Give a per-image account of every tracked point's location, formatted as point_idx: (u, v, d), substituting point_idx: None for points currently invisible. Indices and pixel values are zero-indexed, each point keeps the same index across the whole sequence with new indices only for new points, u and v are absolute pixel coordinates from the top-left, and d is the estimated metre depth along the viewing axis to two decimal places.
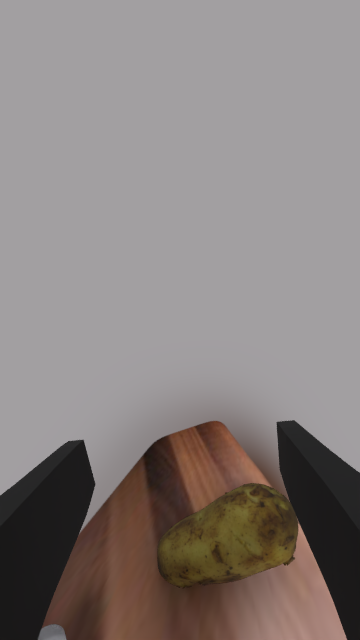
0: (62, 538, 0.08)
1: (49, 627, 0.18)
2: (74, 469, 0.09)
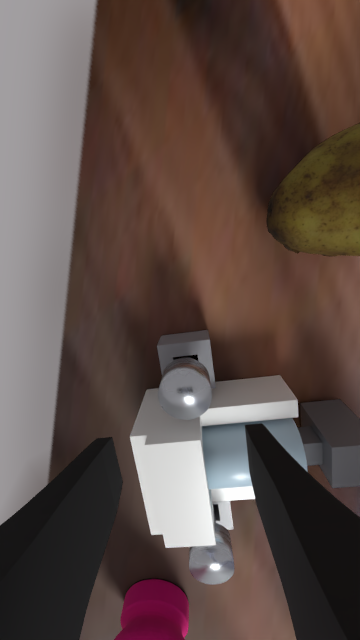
0: (97, 536, 0.08)
1: (176, 374, 0.13)
2: (105, 466, 0.09)
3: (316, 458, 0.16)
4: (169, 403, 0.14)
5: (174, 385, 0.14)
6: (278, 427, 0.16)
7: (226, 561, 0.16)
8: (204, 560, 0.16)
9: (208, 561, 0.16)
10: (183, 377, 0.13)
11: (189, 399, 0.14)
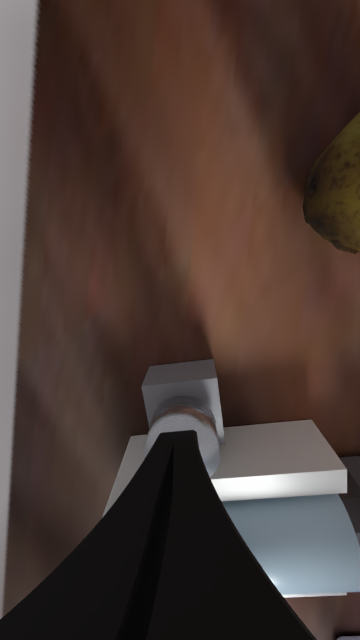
0: None
1: (170, 426, 0.09)
2: None
3: None
4: None
5: None
6: (317, 507, 0.11)
7: None
8: None
9: None
10: (179, 430, 0.09)
11: None
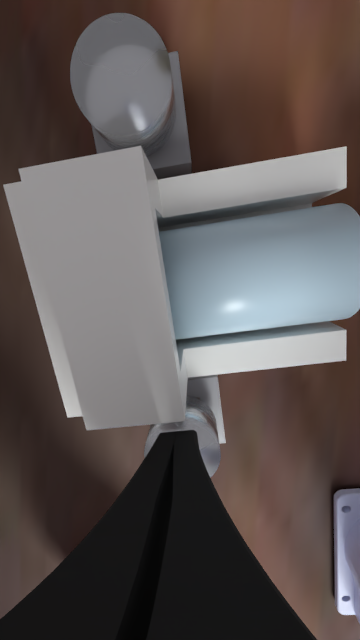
0: None
1: (102, 23, 0.07)
2: None
3: None
4: (92, 97, 0.07)
5: (99, 51, 0.07)
6: (307, 209, 0.09)
7: (206, 442, 0.09)
8: None
9: None
10: (115, 29, 0.07)
11: (129, 84, 0.07)
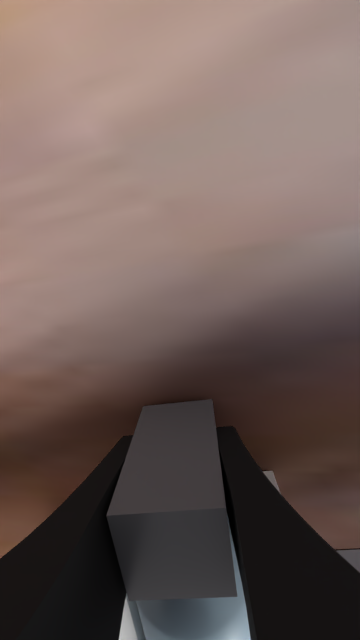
0: None
1: None
2: None
3: None
4: None
5: None
6: None
7: None
8: None
9: None
10: None
11: None
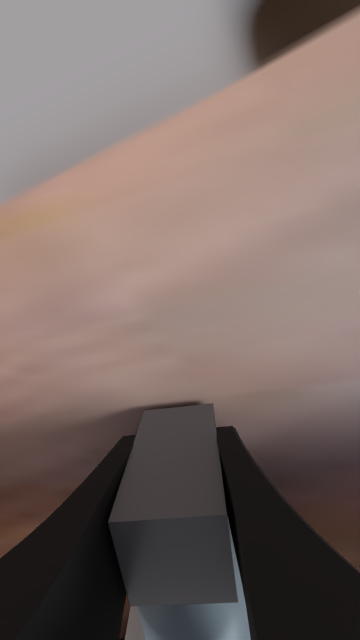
0: None
1: None
2: None
3: None
4: None
5: None
6: None
7: None
8: None
9: None
10: None
11: None
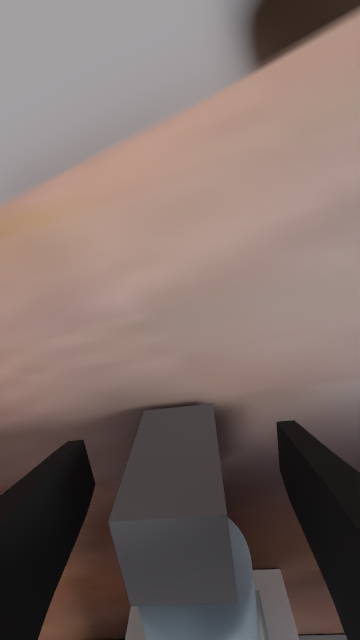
0: (62, 538, 0.08)
1: None
2: (74, 469, 0.09)
3: None
4: None
5: None
6: None
7: None
8: None
9: None
10: None
11: None
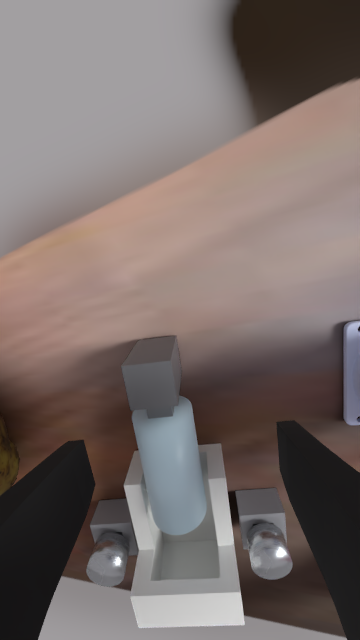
0: (62, 538, 0.08)
1: (89, 575, 0.19)
2: (74, 469, 0.09)
3: None
4: (112, 580, 0.19)
5: (97, 577, 0.19)
6: None
7: (263, 554, 0.18)
8: (262, 569, 0.18)
9: (263, 566, 0.18)
10: (91, 572, 0.19)
11: (107, 570, 0.19)
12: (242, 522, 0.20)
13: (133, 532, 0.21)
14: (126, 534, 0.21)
